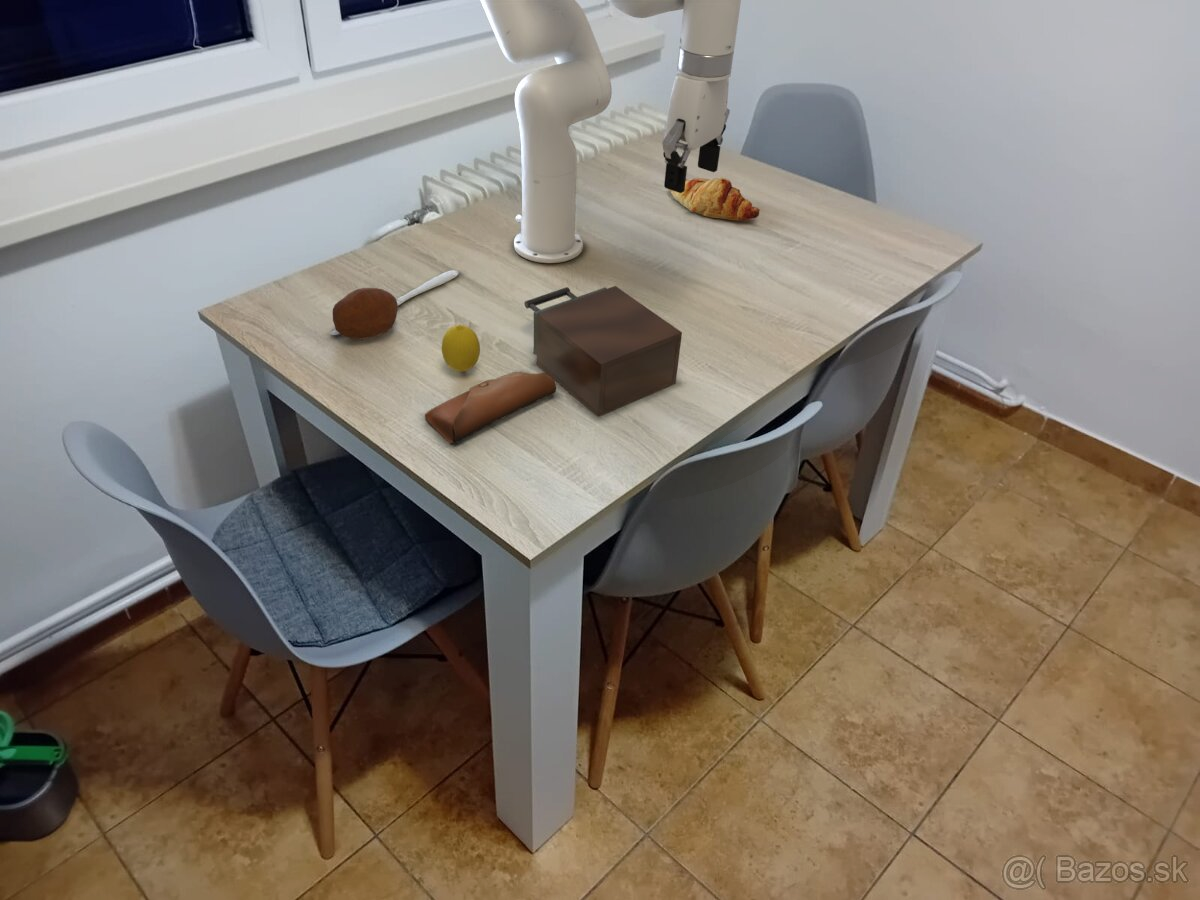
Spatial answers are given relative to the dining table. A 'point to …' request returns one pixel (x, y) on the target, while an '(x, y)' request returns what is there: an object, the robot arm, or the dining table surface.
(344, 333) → the potato
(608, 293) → the cabinet
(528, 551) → the dining table surface
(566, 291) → the drawer
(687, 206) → the croissant
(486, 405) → the sunglasses case
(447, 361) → the lemon
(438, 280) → the butter knife
